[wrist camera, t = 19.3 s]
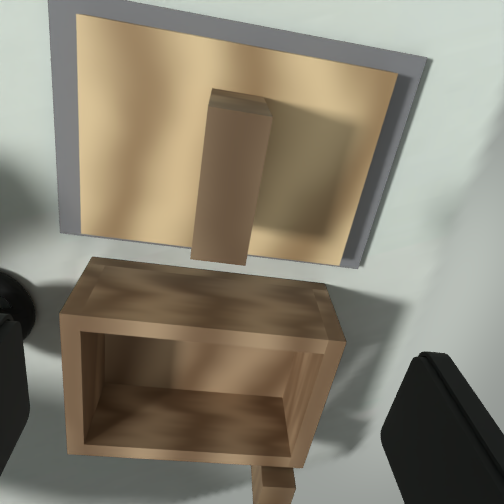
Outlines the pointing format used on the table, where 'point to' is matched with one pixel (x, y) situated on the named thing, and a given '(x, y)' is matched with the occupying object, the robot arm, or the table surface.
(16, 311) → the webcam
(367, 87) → the lid
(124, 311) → the open wooden box
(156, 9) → the mat
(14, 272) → the table surface
